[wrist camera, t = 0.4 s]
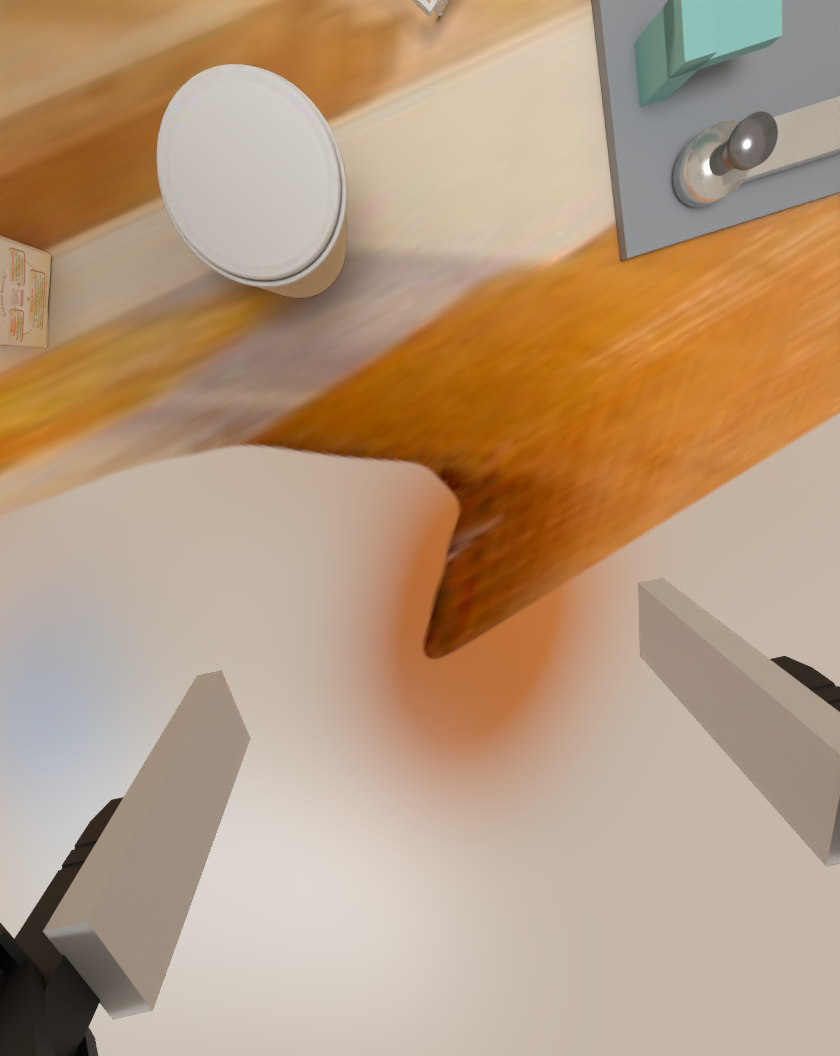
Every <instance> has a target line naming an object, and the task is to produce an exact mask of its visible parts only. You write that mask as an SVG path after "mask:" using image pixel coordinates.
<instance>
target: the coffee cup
mask: <svg viewBox="0 0 840 1056" xmlns="http://www.w3.org/2000/svg"><path fill="white" fill-rule="evenodd" d="M157 173H158V180H159V186H160V190H161V194H162V198H163V201H164V204H165V207H166V209H167V212H168V214H169V216H170V218H171V221H172V223H173V224H174V226H175V228H176V230H177V231H178V233H179V234H180V236H181V237H182V239H183V240H184V242H185V243H186V244H187V245H188V246H189V248H190V249H191V250H192V251H193V252H194V253H195V254H196V255H197V256H198V257H199V258H200V259H201V260H202V261H203V262H204V263H205V264H207V265H208V266H209V267H210V268H212V269H213V270H215V271H216V272H218V273H219V274H221V275H223V276H225V277H227V278H229V279H231V280H233V281H236V282H239V283H242V284H245V285H249V286H255V287H259V288H262V289H265V290H268V291H271V292H274V293H277V294H280V295H283V296H288V297H293V298H306V297H311V296H314V295H317V294H319V293H321V292H323V291H324V290H326V289H327V288H328V287H329V286H330V285H331V284H332V283H333V282H334V281H335V280H336V278H337V277H338V275H339V273H340V271H341V269H342V267H343V264H344V260H345V256H346V248H347V222H346V205H347V183H346V174H345V168H344V163H343V159H342V155H341V152H340V149H339V146H338V144H337V141H336V139H335V137H334V135H333V132H332V131H331V129H330V127H329V125H328V123H327V121H326V120H325V118H324V117H323V115H322V114H321V112H320V111H319V110H318V108H317V107H316V106H315V105H314V103H313V102H312V101H311V100H310V99H309V98H308V97H307V96H306V95H305V94H304V93H303V92H302V91H301V90H300V89H298V88H297V87H296V86H295V85H293V84H292V83H290V82H289V81H287V80H286V79H284V78H283V77H281V76H279V75H277V74H275V73H273V72H270V71H268V70H265V69H262V68H258V67H254V66H249V65H240V64H225V65H220V66H216V67H212V68H209V69H206V70H204V71H202V72H200V73H198V74H197V75H195V76H194V77H192V78H191V79H189V80H188V81H187V82H186V83H185V84H184V85H183V86H182V87H181V88H180V89H179V90H178V91H177V93H176V94H175V95H174V97H173V98H172V100H171V102H170V103H169V105H168V107H167V109H166V111H165V113H164V116H163V119H162V122H161V126H160V130H159V134H158V142H157Z"/></svg>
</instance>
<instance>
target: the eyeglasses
mask: <svg viewBox="0 0 840 1056" xmlns="http://www.w3.org/2000/svg"><path fill="white" fill-rule="evenodd" d="M412 1H413V2H414V3H415V4H416V5H417V6H418V7H419V8H420V9H421V10H422V11H423V12H424V13H425V14H426V15H427V16H428V17H430V16H431V14H432V13H433V11H434V10H435V12H436V13H437V15H439V16H442V15H443V13H442V12H443V10H444V9H445V7H446V5H447V4H448V2H449V0H431V2H430V3H428V2H427V1H426V0H412Z"/></svg>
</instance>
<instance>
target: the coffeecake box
mask: <svg viewBox="0 0 840 1056" xmlns="http://www.w3.org/2000/svg"><path fill="white" fill-rule="evenodd" d="M50 272H51V255H50V254H49V253H47V252H45V251H42V250H39V249H37V248H34V247H31V246H28V245H25V244H23V243H20V242H17V241H14V240H12V239H9V238H6V237H3V236H0V345H4V346H20V347H39V348H47V341H48V296H49V287H50Z"/></svg>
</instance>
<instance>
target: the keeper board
mask: <svg viewBox="0 0 840 1056" xmlns="http://www.w3.org/2000/svg"><path fill="white" fill-rule="evenodd" d="M592 8H593V17H594V26H595V35H596V44H597V53H598V62H599V71H600V80H601V89H602V98H603V107H604V116H605V125H606V134H607V143H608V152H609V161H610V170H611V179H612V188H613V197H614V206H615V215H616V224H617V233H618V242H619V251H620V260H621V261H623V260H626V259H629V258H633V257H636V256H639V255H642V254H645V253H648V252H652V251H655V250H658V249H661V248H664V247H668V246H671V245H674V244H677V243H680V242H683V241H687V240H690V239H693V238H696V237H699V236H703V235H706V234H709V233H712V232H715V231H719V230H722V229H725V228H728V227H731V226H734V225H738V224H741V223H744V222H747V221H750V220H754V219H757V218H760V217H763V216H766V215H769V214H773V213H776V212H779V211H782V210H785V209H789V208H792V207H795V206H798V205H801V204H804V203H808V202H811V201H814V200H817V199H820V198H824V197H827V196H830V195H833V194H836V193H839V192H840V153H837V154H834V155H830V156H827V157H824V158H821V159H818V160H815V161H811V162H808V163H805V164H802V165H799V166H796V167H792V168H789V169H786V170H783V171H780V172H777V173H774V174H770V175H767V176H764V177H761V178H758V179H755V180H751V181H748V182H745V183H742V184H741V185H740V186H739V187H738V188H737V189H736V190H735V191H734V192H732V193H731V194H729V195H727V196H725V197H723V198H721V199H719V200H717V201H715V202H713V203H711V204H709V205H707V206H704V207H698V208H695V207H690V206H687V205H686V204H684V203H683V202H682V201H681V200H680V199H679V198H678V196H677V194H676V192H675V189H674V184H673V172H674V167H675V163H676V161H677V158H678V156H679V154H680V153H681V151H682V150H683V148H684V147H685V146H686V145H687V144H688V143H689V142H690V141H692V140H693V139H694V138H696V137H697V136H698V135H700V134H701V133H703V132H704V131H705V130H707V129H708V128H709V127H711V126H712V125H714V124H716V123H718V122H720V121H724V120H733V121H736V122H738V123H739V122H741V121H742V120H743V119H745V118H746V117H748V116H749V115H751V114H753V113H755V112H760V111H763V112H767V113H769V114H770V115H771V116H772V117H775V116H779V115H782V114H785V113H788V112H791V111H794V110H797V109H800V108H804V107H807V106H810V105H813V104H816V103H819V102H822V101H825V100H829V99H832V98H835V97H838V96H840V0H592Z"/></svg>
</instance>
